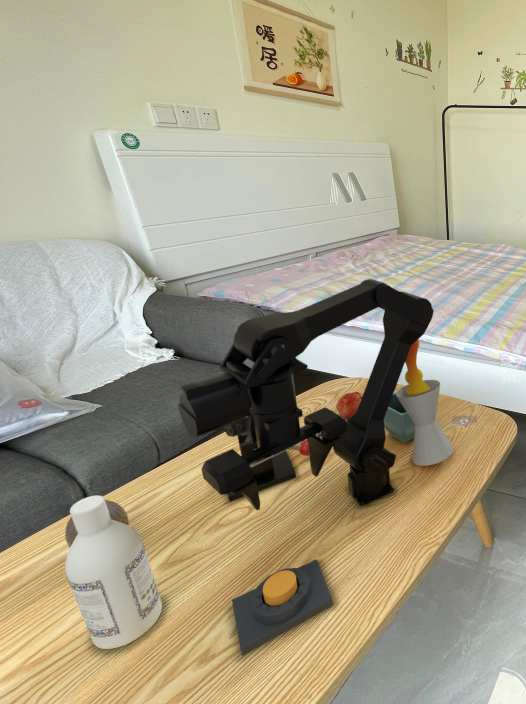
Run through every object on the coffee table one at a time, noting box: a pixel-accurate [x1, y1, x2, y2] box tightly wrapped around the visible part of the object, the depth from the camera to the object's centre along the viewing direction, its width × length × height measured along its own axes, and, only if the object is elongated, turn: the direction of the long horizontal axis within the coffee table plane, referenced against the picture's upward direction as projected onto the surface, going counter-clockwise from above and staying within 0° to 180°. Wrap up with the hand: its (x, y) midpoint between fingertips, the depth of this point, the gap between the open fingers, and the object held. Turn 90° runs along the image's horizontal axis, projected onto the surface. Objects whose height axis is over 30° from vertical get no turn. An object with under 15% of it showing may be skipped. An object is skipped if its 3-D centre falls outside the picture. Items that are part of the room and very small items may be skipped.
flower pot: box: [384, 392, 415, 443], centre depth 98 cm, size 9×9×9 cm
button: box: [263, 570, 297, 606], centre depth 60 cm, size 4×4×2 cm
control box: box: [231, 558, 334, 656], centre depth 60 cm, size 11×8×3 cm
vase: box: [64, 499, 130, 549], centre depth 67 cm, size 7×7×9 cm
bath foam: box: [64, 494, 163, 650], centre depth 54 cm, size 7×7×20 cm
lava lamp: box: [395, 338, 454, 467], centre depth 88 cm, size 9×9×35 cm
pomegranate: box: [335, 391, 363, 420], centre depth 102 cm, size 7×7×10 cm
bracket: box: [227, 434, 297, 503], centre depth 83 cm, size 11×9×9 cm
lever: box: [244, 436, 310, 457], centre depth 85 cm, size 13×3×3 cm, turn 128°
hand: (287, 491), depth 68 cm, fingers open, 9 cm apart
